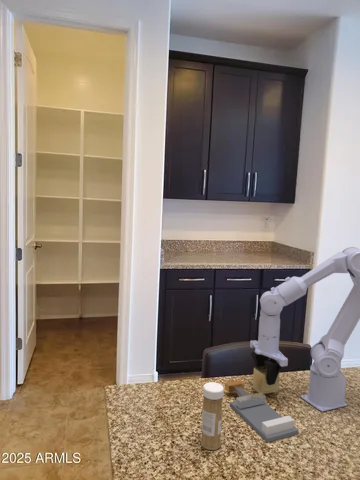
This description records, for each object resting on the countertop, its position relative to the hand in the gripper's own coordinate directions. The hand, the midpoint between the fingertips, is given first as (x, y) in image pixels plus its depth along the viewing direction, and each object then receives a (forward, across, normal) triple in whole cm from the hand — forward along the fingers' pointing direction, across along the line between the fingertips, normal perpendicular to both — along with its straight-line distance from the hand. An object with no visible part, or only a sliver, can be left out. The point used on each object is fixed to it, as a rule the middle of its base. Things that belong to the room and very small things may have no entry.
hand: (266, 380), depth 102 cm
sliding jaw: (+3, +1, -9) cm, 9 cm away
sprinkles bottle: (+4, +14, -26) cm, 29 cm away
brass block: (+3, 0, 0) cm, 3 cm away
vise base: (+4, +10, -9) cm, 14 cm away
